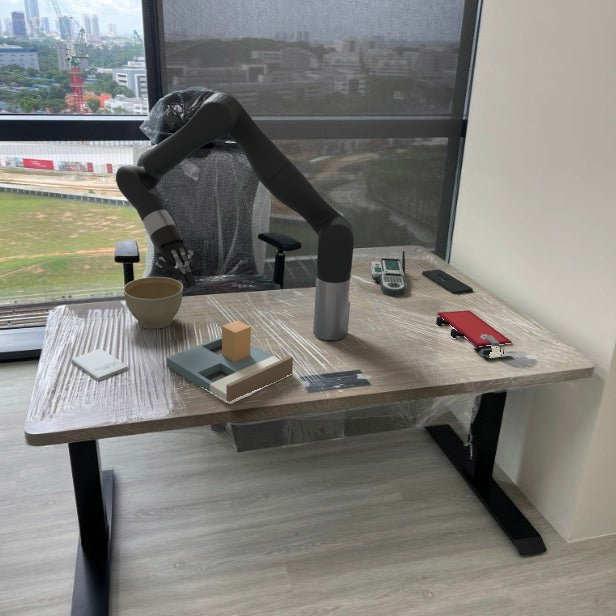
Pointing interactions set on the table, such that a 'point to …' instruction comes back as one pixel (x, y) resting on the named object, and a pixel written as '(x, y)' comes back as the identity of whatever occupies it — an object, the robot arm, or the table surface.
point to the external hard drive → (99, 364)
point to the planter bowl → (153, 300)
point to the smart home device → (447, 281)
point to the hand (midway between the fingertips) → (192, 287)
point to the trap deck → (229, 369)
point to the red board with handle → (472, 330)
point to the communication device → (390, 275)
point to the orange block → (236, 340)
